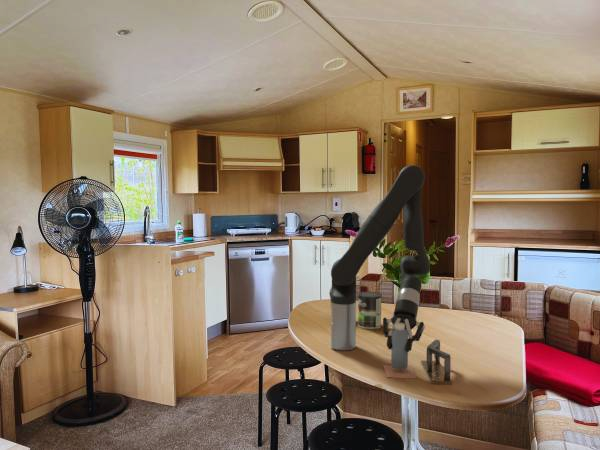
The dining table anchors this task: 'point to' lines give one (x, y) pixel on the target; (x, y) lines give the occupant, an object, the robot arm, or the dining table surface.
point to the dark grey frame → (437, 364)
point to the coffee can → (369, 310)
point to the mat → (399, 372)
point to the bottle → (399, 347)
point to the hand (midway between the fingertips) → (398, 349)
